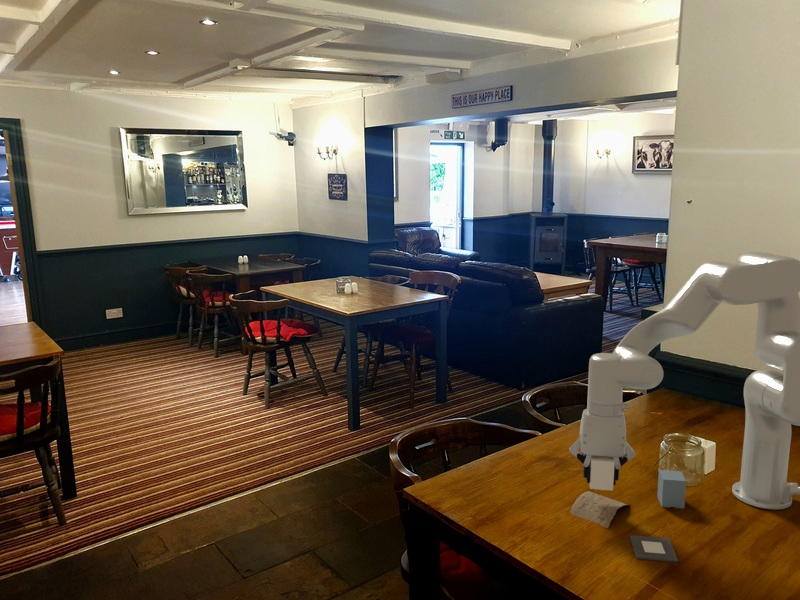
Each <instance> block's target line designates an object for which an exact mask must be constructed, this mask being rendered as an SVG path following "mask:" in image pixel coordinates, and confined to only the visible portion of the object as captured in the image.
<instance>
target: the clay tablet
mask: <svg viewBox="0 0 800 600" xmlns="http://www.w3.org/2000/svg"><path fill="white" fill-rule="evenodd" d="M624 506H628V504H626V503H623V502H621V501H618V500H615V499H612V498H610V497H606V496H604V495H601V494H598V493H596V492H593V491H590V490H588V491H585V492H583V493H581V494H580V495H579V496H578V497H577V498H576V499H575V501H574V502H573V504H572V506H571V508H570V510H569V513H570V512H571V513H572V514H573V515H572V514H571V513H570V514H571V515H572V516H575V515H576V516H575V517H578V518H580V517H581V518H580V519H583V520H585V519H586V520H585V521H588V520H590V521H589V522H591V521H593V522H595V523H594V524H596V523H598V524H600V525H599V526H602V527H603V526H604V527H603V528H606V529H608V528H609V527H610V525H611V522H612V521H613V519H614V516H615V515H616V513H617V510H619V509H620V508H622V507H624ZM593 522H592V523H593ZM598 524H597V525H598Z"/></svg>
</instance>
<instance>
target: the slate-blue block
mask: <svg viewBox="0 0 800 600" xmlns="http://www.w3.org/2000/svg"><path fill="white" fill-rule="evenodd" d="M657 480H658V482H657V495H656V496H657V499H658V502H659V501H660V502H659V504H660V506H661V507H662V508H670V507H675V508H674V509H685V506H686V503H685V502H686V491H687V490H686V489H687V480H686V478H685V477H684V474H683V473H682V471H680V470H668V469H667V470H665V469H659V470H658V479H657Z"/></svg>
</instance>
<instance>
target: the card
mask: <svg viewBox="0 0 800 600" xmlns="http://www.w3.org/2000/svg"><path fill="white" fill-rule="evenodd" d="M629 539H630V542H631V545H632V548H633V552H634V554H635V555H634V556H635V559H638V560H648V561H659V562H669V563H678V562H679V559H678V557H677V555H676V552H675V549H674V547H673V545H672V542H671V540H670V538H668V537H667V538H666V537H665V538H664V537H655V536H641V535H633V534H632V535H629Z"/></svg>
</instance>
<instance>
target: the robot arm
mask: <svg viewBox="0 0 800 600" xmlns="http://www.w3.org/2000/svg"><path fill="white" fill-rule="evenodd" d="M799 293H800V260H799V259H796V258H795V257H790V256H786V255H778V254H774V253H773V254H772V253H768V252H767V253H766V252H762V251H761V252H760V251H750V252H746V253H743V254H742V255H740V256H739V257H737V259H736V261H735V264H733V263H728V262H723V261H719V260H718V261H715V260H711V261H706V262H704V263H702V264H701V265H700V266H698V267H697V268H696V270H695V271H694V272H692V274H691V275H690V277H688V279H687V280H686V281H685V283H684V284H683V285H682V286H681V287H680V289H679V290H678V291H677V292H676V293H675V294H674V295H673V296H672V297H671V299H670V300H669V301H668V303H667V304H666V305H665V306H664V307H663V308H662V309H661V310H659V311H658V312H656V313H653V314H652V315H650V316H649V317H647V318H645V319H644V320H642V321H640V322H639V323H638V324H636V325H635V326H633V327H632V328H631V329H630V330H629V331H628V332H627V333H626V334H625V335H624V337H623V338H622V339H621V340H620V341H619V343H618V344H617V345H616V347H615V348H614V349H613V351H612V353H611V352H600V353H594V354H592V355H591V356H590V358H589V359H588V360H589V362H588V376H587V377H588V379H587V380H588V381H587V382H588V384H587V398H586V399H587V401H586V403H587V405H586V408H585V409H583V411H582V414H581V420H580V425H579V427H580V428H579V433H578V434H579V436H578V438H577V439H576V441H574V442H573V443H572V444H571V445H570V447H569V449H568V450H569V453H570V454H572V455H573V456H574V457H576V458H577V460H579V462H581V464H582V465H583V473H582V474H583V478H585V479H586V483H587V484H589V483H590V473H591V467H590V461H591V458H592V456H605V457H613V460H614V462H615V464H614V482H613V486H616V483H617V481H619V475H620V474H619V473H620V469H621V467H622V466H623V465H625V464H627V462H628V461H630V460H632V459H634V458H635V457H636V456H637V455H636V452H635V451H634V449H633V448H632V447H631V445H630V444H629V443H628V441H627V427H626V417H625V413H624V411H625V410H627V411H628V410H629V406H630V405H629V403H625V402H624V401H623V391H624V390H623V389H624V388H627V389H635V390H650V389H653V388H656V387H657V386H659V385H660V384H661V382H662V381H663V378H664V369H663V367H662V365H661V364H660V362H659V361H658V360H656V359H655V358H653V357H651V355H650V356H649V353H650V352H651V351H652V350H653V349H655V347H657V346H658V345H660V344H661V343H663V342H665V341H667V340H670V339H674V338H680V337H685V336H688V335H693V334H695V333H697V331H699V329H700V328H701V327H702V325H704V323H705V322H706V321H707V320H708V319H709V317H710V316H711V315H712V314H713V313H714V311H715V310H716V309H717V308H718V307H719V306H720V304H721V303H723V304H727V305H731V306H746V305H752V304H756V305H757V321H756V329H755V330H756V332H755V340H754V354H755V357H756V358H757V360H759V361H760V362H761V363H763V364H765V365H767V366H769V367H770V368H773V369H768V368H763V369H758V370H755V371H753V372H752V373H751V374H750V375H748V376H747V377H746V379H745V382H744V384H743V385H744V386H743V400H744V401H743V402H744V406H745V407H744V408H745V421H744V422H745V423H744V425H745V426H744V433H743V436H744V437H743V445H742V456H741V467H740V468H741V469H740V479H739V481H736V482H735V483H733V484H732V487H731V493H732V494H733V495H734V497H736V498H737V499H738V500H739V501H741V502H743V503H745V504H747V505H750V506H753V507H756V508H760V509H764V510H785V509H787V508H789V507H792V504H793V497H792V496H795V495H799V496H800V486H799V484H798V482H788V481H787V477H788V469H789V460H790V450H791V441H792V425H793V426H799V427H800V295H799ZM774 369H776V370H774ZM777 370H778V371H777ZM579 449H580V450H579Z"/></svg>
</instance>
